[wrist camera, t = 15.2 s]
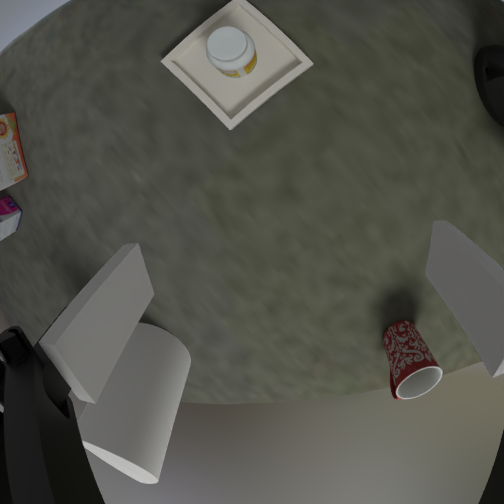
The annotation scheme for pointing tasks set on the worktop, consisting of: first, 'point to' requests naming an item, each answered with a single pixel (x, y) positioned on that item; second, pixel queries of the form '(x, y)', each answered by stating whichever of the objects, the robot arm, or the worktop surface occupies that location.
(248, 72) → the supplement bottle
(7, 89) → the worktop surface
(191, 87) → the tray
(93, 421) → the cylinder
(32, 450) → the robot arm
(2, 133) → the cracker box
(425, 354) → the mug
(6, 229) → the supplement box
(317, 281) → the worktop surface
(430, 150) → the worktop surface
